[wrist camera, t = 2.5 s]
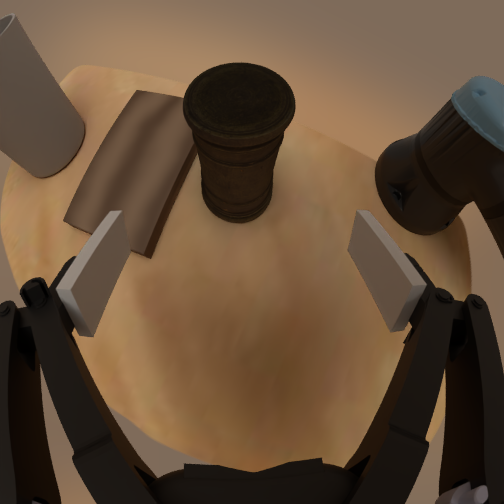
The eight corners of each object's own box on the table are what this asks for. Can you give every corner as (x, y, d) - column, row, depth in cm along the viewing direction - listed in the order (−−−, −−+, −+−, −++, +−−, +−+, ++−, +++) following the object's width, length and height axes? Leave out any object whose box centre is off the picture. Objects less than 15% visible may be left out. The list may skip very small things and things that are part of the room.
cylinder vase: (42, 194, 34) (-65, 112, 10) (21, 152, 36) (-59, 76, 11) (98, 138, 37) (21, 20, 12) (70, 104, 38) (9, 8, 13)
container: (250, 236, 35) (265, 166, 17) (188, 201, 35) (154, 114, 18) (284, 179, 37) (319, 86, 19) (225, 149, 37) (222, 47, 20)
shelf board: (215, 117, 38) (214, 104, 35) (150, 258, 34) (143, 254, 31) (141, 101, 38) (136, 90, 35) (73, 226, 34) (62, 220, 31)
